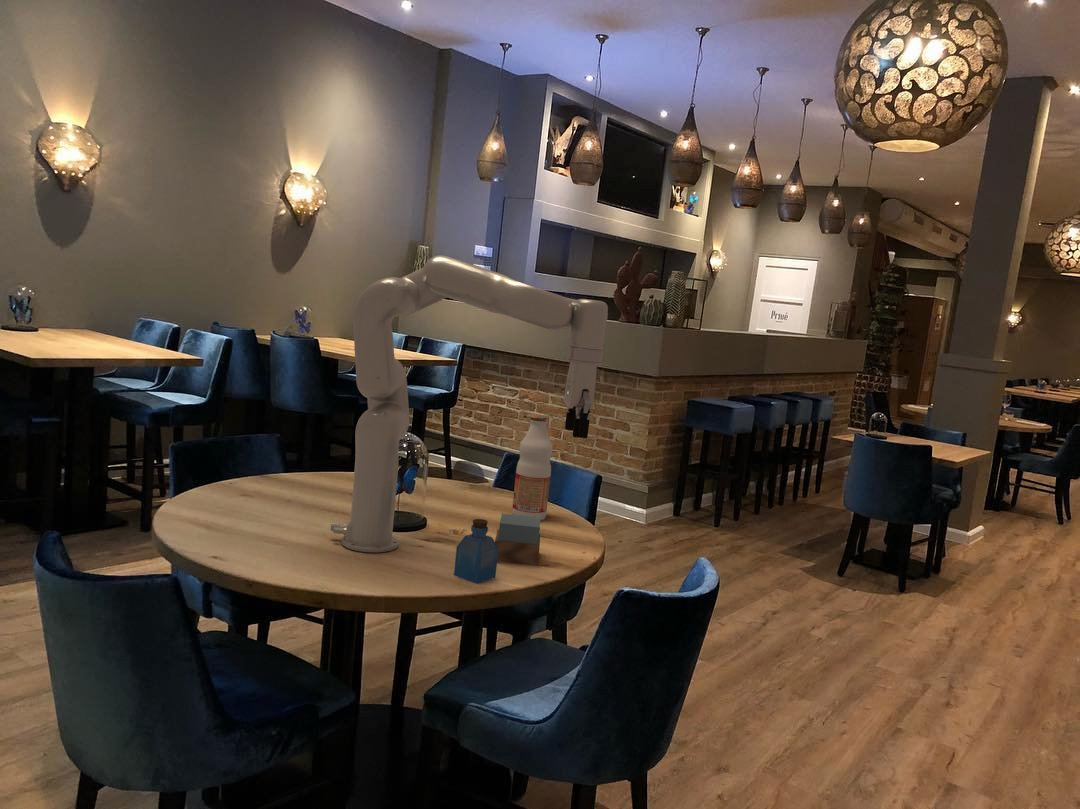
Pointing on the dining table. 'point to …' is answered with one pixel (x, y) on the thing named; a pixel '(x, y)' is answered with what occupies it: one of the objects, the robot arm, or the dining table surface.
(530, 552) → the tower base
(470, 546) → the perfume bottle
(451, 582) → the dining table surface
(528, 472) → the fruit juice
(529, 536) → the tower top
